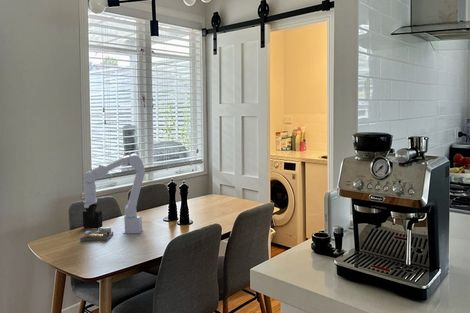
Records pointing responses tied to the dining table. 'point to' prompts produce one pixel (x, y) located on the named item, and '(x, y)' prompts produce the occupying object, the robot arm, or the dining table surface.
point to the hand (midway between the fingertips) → (91, 217)
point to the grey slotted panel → (94, 239)
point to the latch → (87, 232)
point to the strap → (95, 235)
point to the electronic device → (92, 220)
